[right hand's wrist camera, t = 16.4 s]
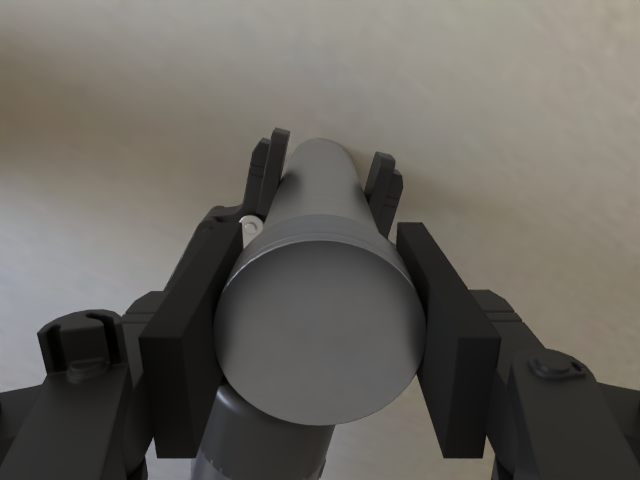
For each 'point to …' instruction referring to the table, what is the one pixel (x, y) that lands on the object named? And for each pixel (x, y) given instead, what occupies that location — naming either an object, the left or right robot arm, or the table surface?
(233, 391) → the left robot arm
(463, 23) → the table surface
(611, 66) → the table surface
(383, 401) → the lid
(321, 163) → the grey capped cylinder
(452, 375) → the right robot arm
